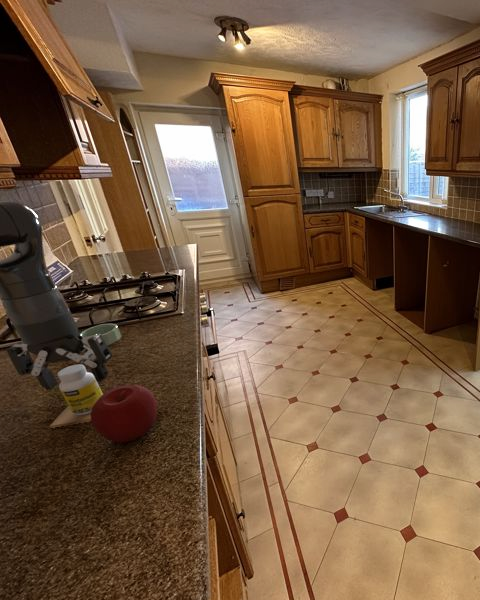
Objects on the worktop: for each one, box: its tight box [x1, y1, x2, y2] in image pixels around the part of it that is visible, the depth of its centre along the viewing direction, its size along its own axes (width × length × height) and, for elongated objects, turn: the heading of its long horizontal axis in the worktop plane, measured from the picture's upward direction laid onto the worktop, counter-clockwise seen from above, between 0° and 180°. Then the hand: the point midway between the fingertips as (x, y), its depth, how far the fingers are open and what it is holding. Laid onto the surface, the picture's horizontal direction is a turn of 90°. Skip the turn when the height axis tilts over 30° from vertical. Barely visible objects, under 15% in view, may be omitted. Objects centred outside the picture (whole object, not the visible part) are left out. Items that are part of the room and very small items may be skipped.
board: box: [49, 404, 91, 429], centre depth 69 cm, size 10×8×1 cm
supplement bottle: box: [57, 363, 104, 415], centre depth 67 cm, size 5×5×10 cm
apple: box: [90, 384, 158, 443], centre depth 62 cm, size 10×10×10 cm
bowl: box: [79, 323, 123, 351], centre depth 92 cm, size 8×8×5 cm
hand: (77, 383), depth 67 cm, fingers open, 8 cm apart
